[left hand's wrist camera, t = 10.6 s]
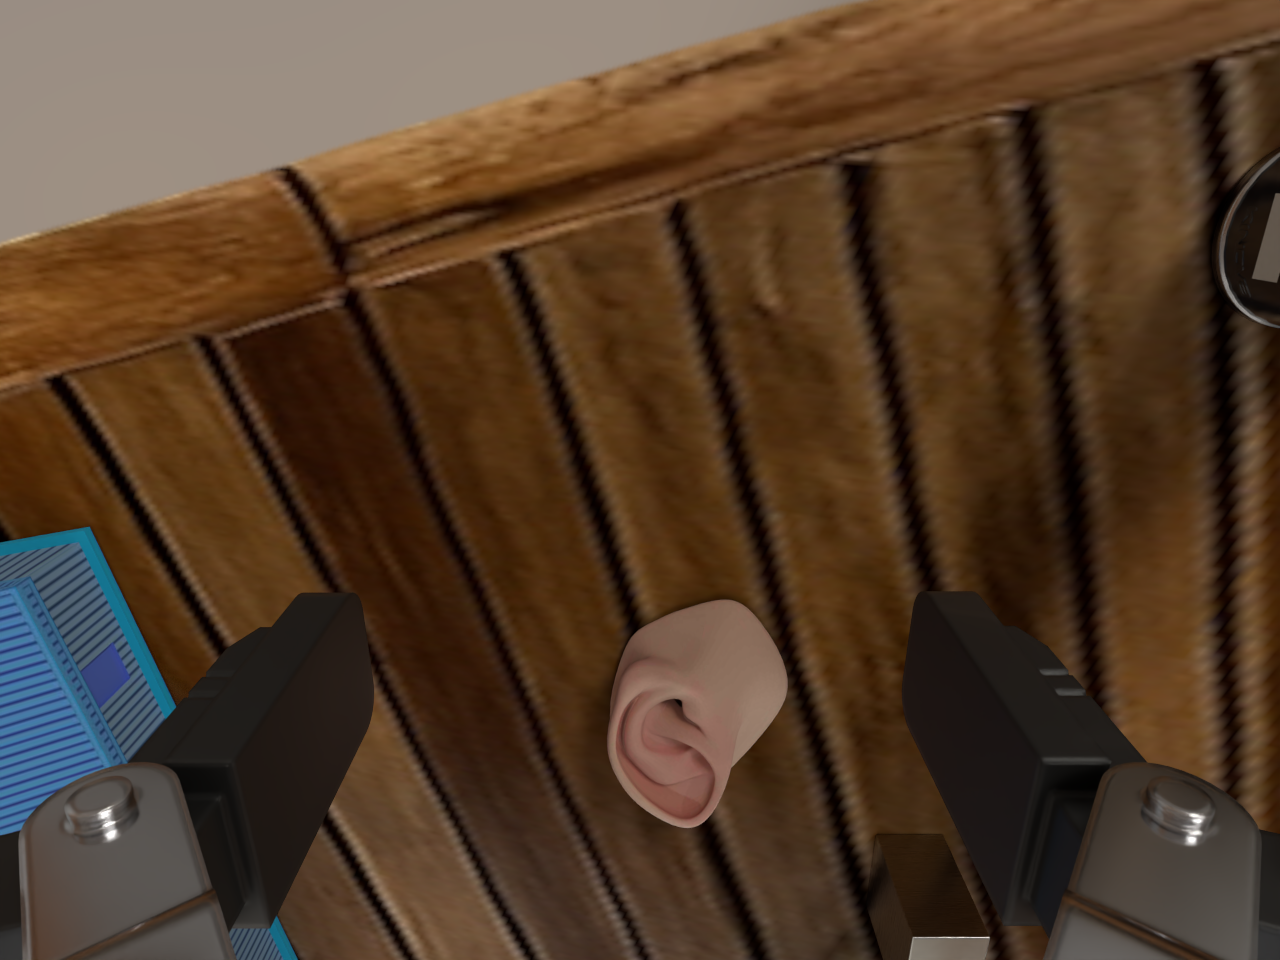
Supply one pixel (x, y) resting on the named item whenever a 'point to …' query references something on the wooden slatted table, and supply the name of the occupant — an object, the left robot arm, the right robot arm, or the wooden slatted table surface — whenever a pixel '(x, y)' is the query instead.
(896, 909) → the block
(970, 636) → the left robot arm
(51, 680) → the model building
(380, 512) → the wooden slatted table surface
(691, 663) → the anatomical model
